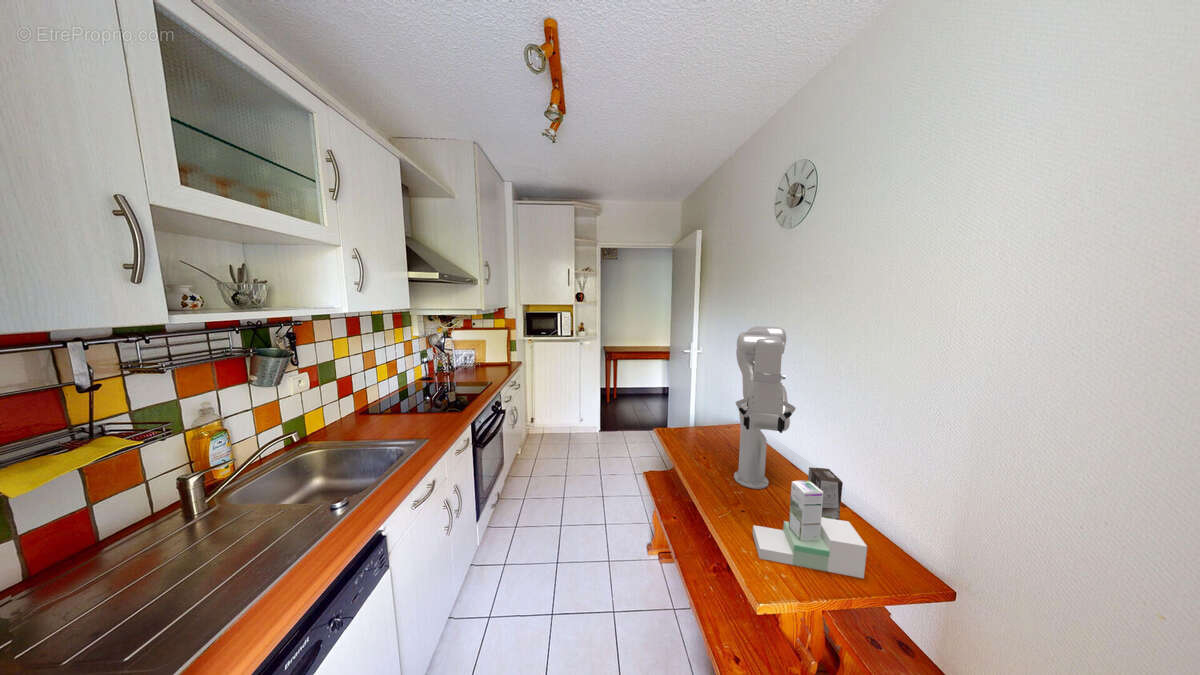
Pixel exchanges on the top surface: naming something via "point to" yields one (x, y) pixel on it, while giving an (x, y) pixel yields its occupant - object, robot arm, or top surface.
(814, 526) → the syrup box
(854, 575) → the stepped riser
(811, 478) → the coffee box
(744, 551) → the top surface
